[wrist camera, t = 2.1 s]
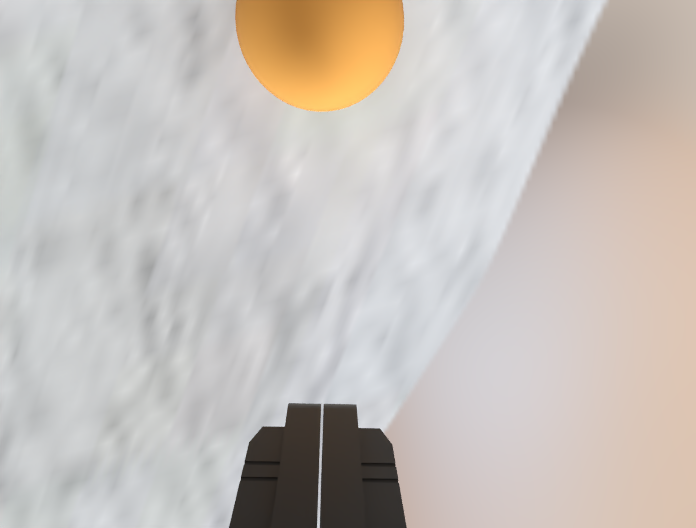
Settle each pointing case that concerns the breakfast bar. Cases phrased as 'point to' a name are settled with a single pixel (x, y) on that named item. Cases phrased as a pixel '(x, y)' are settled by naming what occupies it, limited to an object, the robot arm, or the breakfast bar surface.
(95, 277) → the breakfast bar surface
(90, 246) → the breakfast bar surface
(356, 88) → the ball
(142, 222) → the breakfast bar surface
